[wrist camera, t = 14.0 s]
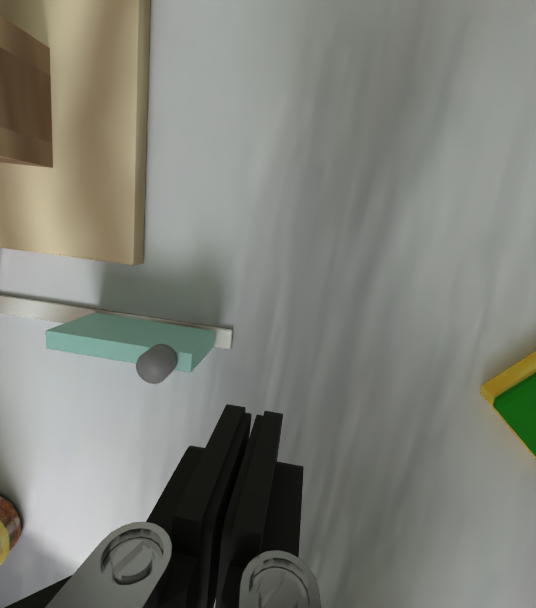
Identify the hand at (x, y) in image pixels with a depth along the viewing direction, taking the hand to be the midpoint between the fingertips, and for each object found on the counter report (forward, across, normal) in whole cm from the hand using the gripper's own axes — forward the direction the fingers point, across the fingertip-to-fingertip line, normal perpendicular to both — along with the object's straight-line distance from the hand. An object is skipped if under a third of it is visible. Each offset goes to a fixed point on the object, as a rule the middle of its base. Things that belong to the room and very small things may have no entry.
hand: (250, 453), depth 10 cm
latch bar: (+12, +8, +1) cm, 14 cm away
